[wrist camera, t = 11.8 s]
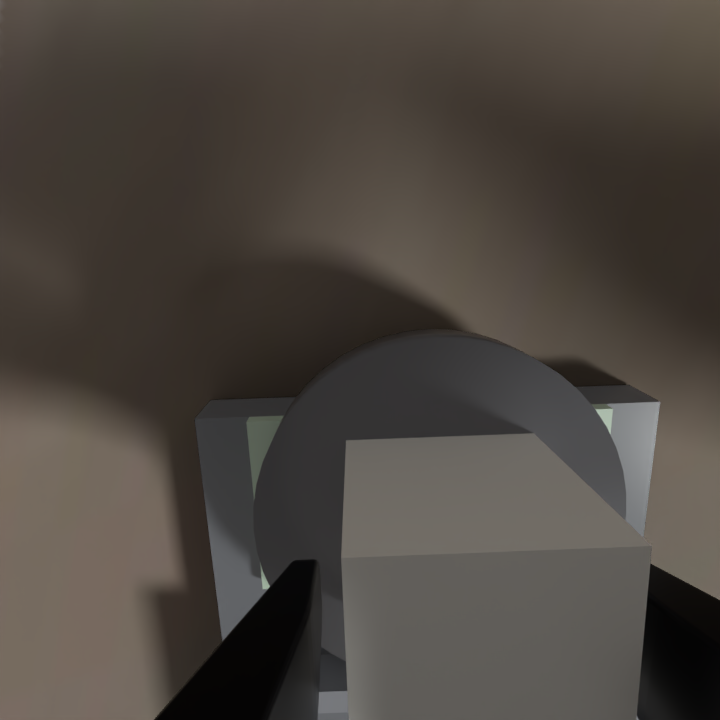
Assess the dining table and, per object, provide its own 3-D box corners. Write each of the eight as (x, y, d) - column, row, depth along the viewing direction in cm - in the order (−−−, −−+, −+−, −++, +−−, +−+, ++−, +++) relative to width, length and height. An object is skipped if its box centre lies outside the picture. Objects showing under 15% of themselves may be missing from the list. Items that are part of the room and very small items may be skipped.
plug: (606, 322, 10) (841, 379, 5) (586, 631, 11) (756, 901, 6) (251, 335, 10) (156, 405, 5) (276, 643, 11) (218, 925, 6)
